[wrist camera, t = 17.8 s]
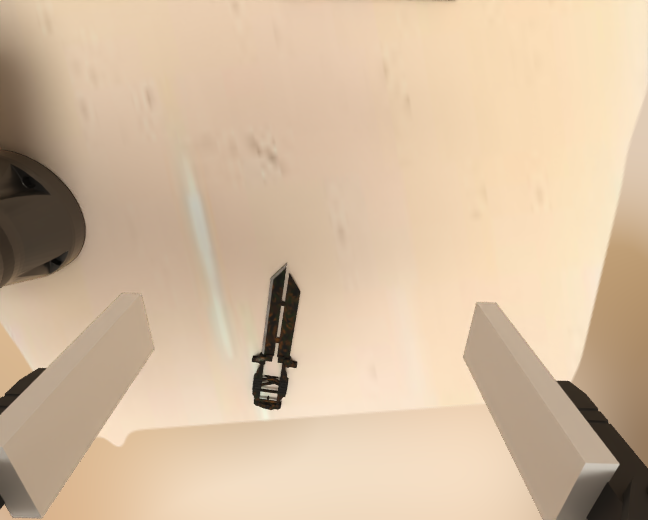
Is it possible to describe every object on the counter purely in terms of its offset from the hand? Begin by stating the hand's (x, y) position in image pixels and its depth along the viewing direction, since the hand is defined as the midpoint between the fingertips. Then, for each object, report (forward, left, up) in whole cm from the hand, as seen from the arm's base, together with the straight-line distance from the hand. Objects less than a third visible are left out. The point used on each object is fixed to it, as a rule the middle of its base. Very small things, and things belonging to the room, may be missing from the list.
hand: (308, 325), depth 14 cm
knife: (-6, -24, -29) cm, 39 cm away
